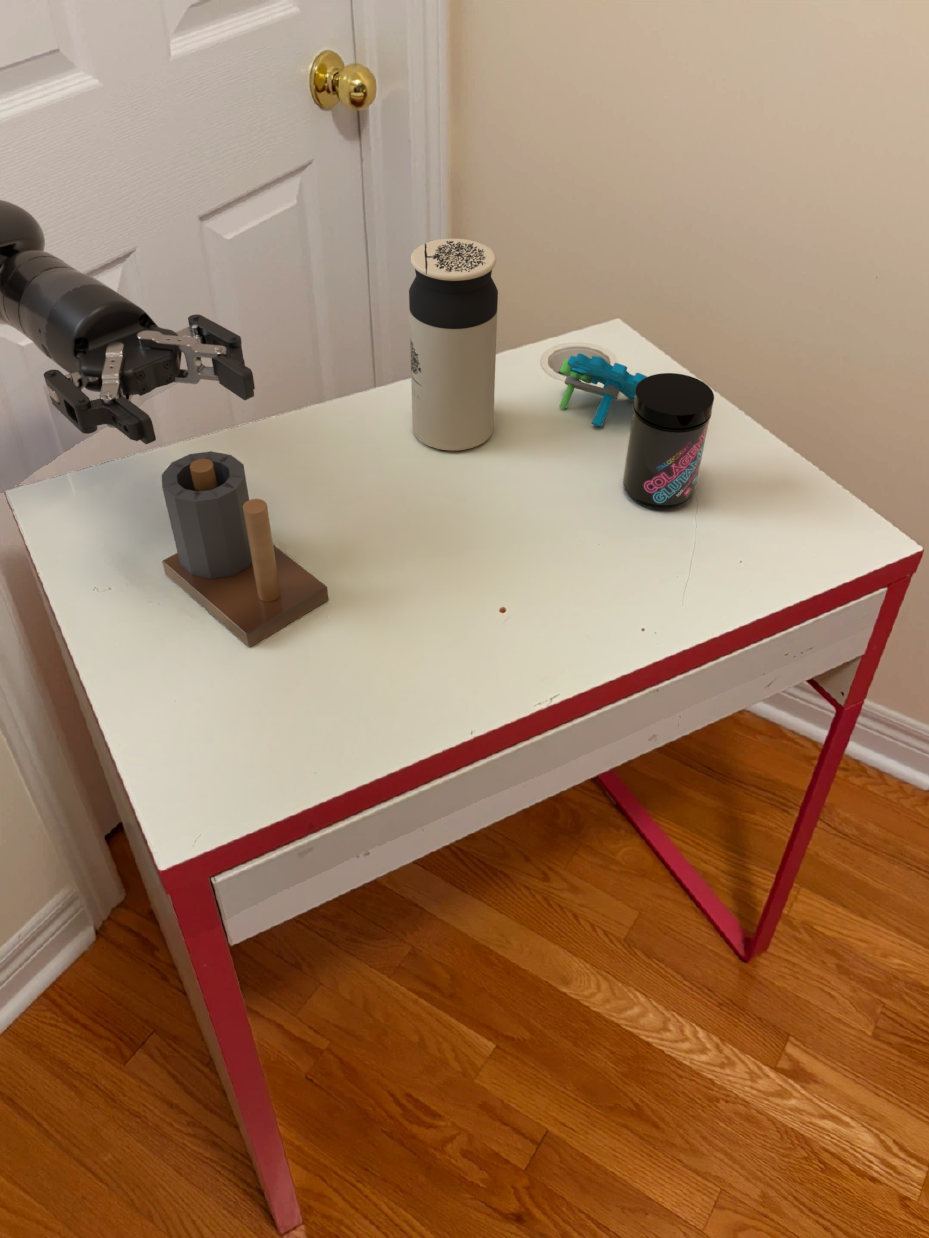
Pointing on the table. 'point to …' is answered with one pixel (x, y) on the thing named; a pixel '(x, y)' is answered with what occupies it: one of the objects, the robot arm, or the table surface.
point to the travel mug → (453, 343)
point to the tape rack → (251, 577)
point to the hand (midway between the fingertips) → (201, 409)
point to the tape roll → (208, 516)
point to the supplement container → (666, 440)
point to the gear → (598, 372)
